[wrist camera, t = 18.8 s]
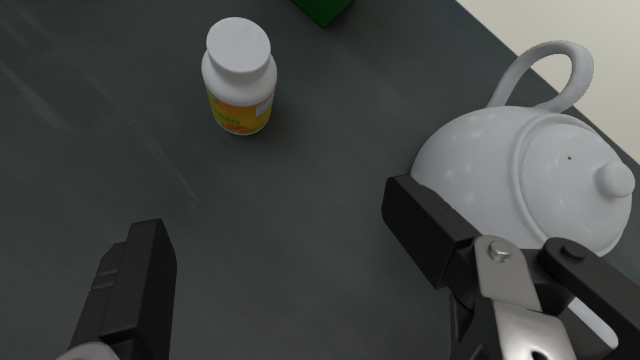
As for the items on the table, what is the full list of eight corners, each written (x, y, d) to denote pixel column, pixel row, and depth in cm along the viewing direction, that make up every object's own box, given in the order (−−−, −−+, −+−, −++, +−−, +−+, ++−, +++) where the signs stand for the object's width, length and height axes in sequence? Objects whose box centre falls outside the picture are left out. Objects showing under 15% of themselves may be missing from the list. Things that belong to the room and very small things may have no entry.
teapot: (563, 212, 34) (753, 195, 21) (474, 325, 29) (661, 396, 16) (466, 90, 35) (597, 1, 22) (359, 179, 29) (449, 129, 16)
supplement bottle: (199, 111, 26) (173, 42, 17) (237, 73, 28) (232, -8, 19) (246, 147, 27) (245, 99, 18) (281, 108, 28) (297, 44, 19)
